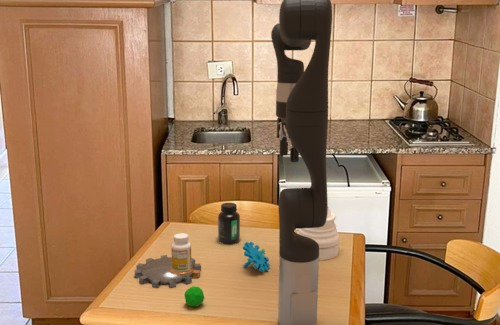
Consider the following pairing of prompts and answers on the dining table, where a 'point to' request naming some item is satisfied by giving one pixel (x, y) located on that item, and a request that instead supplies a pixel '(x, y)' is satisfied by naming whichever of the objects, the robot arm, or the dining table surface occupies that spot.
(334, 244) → the honey pot
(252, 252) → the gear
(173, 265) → the supplement bottle
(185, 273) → the sprocket plate
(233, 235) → the supplement bottle
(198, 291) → the polyhedron
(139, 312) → the dining table surface
